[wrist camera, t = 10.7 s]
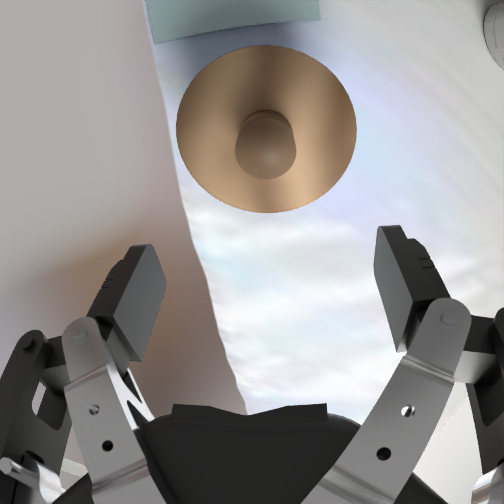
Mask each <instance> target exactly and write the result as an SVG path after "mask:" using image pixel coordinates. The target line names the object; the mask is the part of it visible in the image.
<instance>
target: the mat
mask: <svg viewBox="0 0 504 504" xmlns="http://www.w3.org/2000/svg"><path fill="white" fill-rule="evenodd" d="M146 3H147V9H148V14H149V19H150V25H151V30H152V35H153V40H154V44H160V43H163V42H167V41H171V40H175V39H180V38H184V37H188V36H193V35H198V34H202V33H208V32H213V31H218V30H224V29H230V28H237V27H244V26H252V25H260V24H269V23H280V22H294V21H316V20H320V13H319V6H318V0H146Z"/></svg>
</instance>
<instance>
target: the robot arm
mask: <svg viewBox="0 0 504 504" xmlns="http://www.w3.org/2000/svg"><path fill="white" fill-rule="evenodd" d="M484 34H485V40H486V43H487V46H488V49H489V51H490V53H491V55H492V56H493V58H494V60H495V61H496V62H497V63H498V65H499V66H500V67H502V68H503V69H504V3H497V4H495V5H493V6H491V8H490V9H489V10H488V12H487V14H486V16H485V21H484ZM374 275H375V280H376V283H377V286H378V289H379V292H380V295H381V299H382V302H383V305H384V309H385V312H386V315H387V319H388V322H389V326H390V329H391V333H392V337H393V340H394V344H395V348H396V352H397V353H398V352H404V351H407V353H406V355H405V357H404V356H403V358H402V359H401V361H400V363H399V364H398V366H397V368H396V370H395V372H394V374H393V375H392V377H391V379H390V381H389V382H388V384H387V386H386V388H385V389H384V391H383V393H382V394H381V396H380V398H379V399H378V401H377V403H376V404H375V406H374V407H373V409H372V411H371V412H370V414H369V415H368V417H367V418H366V420H365V421H364V423H363V424H362V425H360V424H358V423H357V422H355V421H353V420H351V419H348V418H346V417H343V416H339V415H336V414H330V413H327V403H324V404H311V405H294V406H285V407H281V408H277V409H273V410H269V411H265V412H261V413H257V414H253V415H240V414H236V413H232V412H229V411H225V410H221V409H217V408H214V407H211V406H199V405H182V404H173V408H172V413H171V414H168V415H164V416H161V417H158V418H156V419H155V418H154V417H153V416H152V414H151V413H150V411H149V409H148V407H147V405H146V404H145V401H144V399H143V397H142V395H141V393H140V391H139V389H138V387H137V385H136V382H135V380H134V378H133V376H132V373H131V371H130V370H129V368H128V365H129V362H130V361H140V362H141V361H142V360H143V357H144V353H145V350H146V347H147V344H148V341H149V338H150V335H151V332H152V329H153V326H154V323H155V320H156V317H157V314H158V311H159V308H160V305H161V302H162V299H163V297H164V294H165V290H166V279H165V275H164V273H163V270H162V268H161V265H160V262H159V260H158V257H157V255H156V252H155V250H154V247H153V246H152V245H151V244H146V245H134V246H131V247H130V248H129V250H128V252H127V253H126V255H125V257H124V259H123V260H120V261H119V262H118V263H117V264H116V265H115V266H114V267H113V268H112V269H111V270H110V272H109V274H108V276H107V277H106V281H104V283H103V285H102V287H101V289H100V291H99V292H98V294H97V296H96V298H95V300H94V302H93V304H92V306H91V308H90V310H89V312H88V314H87V316H86V317H81V318H79V319H76V320H75V321H73V322H72V323H70V324H69V325H68V326H67V327H66V329H65V330H64V333H63V335H62V336H58V337H55V338H51V339H46V337H45V336H44V334H43V333H42V332H41V331H39V330H31V331H29V332H27V333H26V334H24V335H23V336H22V337H21V338H20V339H19V341H18V342H17V344H16V346H15V349H14V350H13V352H12V354H11V357H10V359H9V361H8V363H7V365H6V367H5V370H4V372H3V374H2V376H1V379H0V504H448V503H447V502H446V501H445V500H443V499H442V498H441V497H440V496H439V495H438V494H437V493H436V492H435V491H433V490H432V489H431V488H430V487H429V486H428V485H427V484H426V483H424V482H423V481H422V480H421V479H420V478H419V477H418V476H416V475H415V474H414V473H413V472H412V471H413V470H414V468H415V466H416V464H417V462H418V461H419V459H420V457H421V455H422V453H423V451H424V450H425V448H426V446H427V444H428V442H429V440H430V438H431V436H432V434H433V432H434V429H435V427H436V425H437V423H438V421H439V419H440V417H441V414H442V412H443V410H444V407H445V405H446V403H447V400H448V398H449V396H450V393H451V391H452V388H453V385H454V382H462V383H465V384H466V388H467V392H468V396H469V400H470V405H471V409H472V414H473V418H474V423H475V428H476V434H477V439H478V445H479V451H480V458H481V465H482V473H483V476H482V477H481V478H480V479H479V480H478V481H477V483H476V484H475V486H474V489H473V492H472V499H471V504H504V307H503V308H501V309H500V310H499V311H498V312H497V314H496V316H495V317H494V318H487V317H480V316H474V315H471V314H470V312H469V310H468V309H467V307H466V306H465V305H464V304H462V303H461V302H459V301H457V300H455V299H452V298H451V297H450V295H449V293H448V291H447V289H446V287H445V285H444V283H443V281H442V279H441V277H440V275H439V273H438V271H437V269H436V268H435V265H434V263H433V261H432V260H431V259H430V256H429V254H428V252H427V250H426V249H425V247H424V246H423V245H422V244H420V243H419V242H418V241H417V240H416V239H414V238H413V239H407V237H406V235H405V233H404V231H403V230H402V228H401V226H400V225H391V226H379V227H378V230H377V237H376V247H375V256H374ZM39 381H40V382H41V383H42V384H43V385H44V386H45V387H46V390H45V393H44V396H43V399H42V402H41V404H40V407H39V410H38V413H37V416H36V415H35V414H34V412H33V410H32V400H33V397H34V395H35V392H36V389H37V386H38V384H39ZM72 424H73V427H74V431H75V434H76V437H77V441H78V444H79V446H80V450H81V453H82V456H83V459H84V462H85V464H86V467H87V470H88V473H87V474H86V475H84V476H83V477H82V478H81V479H80V480H78V481H77V482H76V483H75V484H74V485H73V486H71V487H70V488H69V489H68V490H65V488H64V487H62V486H61V482H60V479H59V474H60V469H61V465H62V461H63V456H64V452H65V448H66V444H67V440H68V437H69V433H70V429H71V426H72Z"/></svg>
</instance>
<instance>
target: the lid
mask: <svg viewBox="0 0 504 504" xmlns="http://www.w3.org/2000/svg"><path fill="white" fill-rule="evenodd" d="M356 130H357V127H356V117H355V113H354V109H353V105H352V103H351V100H350V98H349V96H348V94H347V92H346V90H345V89H344V87H343V85H342V84H341V83H340V81H339V80H338V79H337V77H336V76H335V75H334V74H333V73H332V72H331V71H330V70H329V69H328V68H327V67H325V66H324V65H323V64H321V63H320V62H318V61H317V60H316V59H314V58H312V57H310V56H308V55H306V54H304V53H302V52H299V51H296V50H293V49H290V48H285V47H281V46H271V45H261V46H251V47H246V48H241V49H238V50H235V51H232V52H229V53H227V54H225V55H223V56H221V57H219V58H217V59H216V60H214V61H213V62H211V63H210V64H208V65H207V66H206V67H205V68H204V69H203V70H202V71H200V72H199V73H198V74H197V76H196V77H195V78H194V79H193V81H192V82H191V83H190V85H189V86H188V88H187V90H186V91H185V93H184V95H183V98H182V100H181V103H180V106H179V110H178V114H177V122H176V137H177V143H178V148H179V151H180V154H181V157H182V159H183V161H184V164H185V166H186V168H187V169H188V171H189V172H190V174H191V175H192V177H193V178H194V179H195V180H196V182H197V183H198V184H199V185H200V186H201V187H202V188H203V189H204V190H205V191H207V192H208V193H209V194H211V195H212V196H213V197H215V198H216V199H218V200H220V201H222V202H223V203H225V204H228V205H230V206H232V207H235V208H238V209H242V210H245V211H251V212H258V213H278V212H284V211H289V210H293V209H297V208H300V207H302V206H305V205H307V204H309V203H311V202H313V201H315V200H317V199H318V198H320V197H321V196H322V195H324V194H325V193H326V192H328V191H329V190H330V189H331V188H332V187H333V186H334V185H335V184H336V183H337V182H338V180H339V179H340V178H341V177H342V175H343V174H344V172H345V170H346V169H347V167H348V165H349V163H350V161H351V158H352V155H353V152H354V148H355V143H356Z"/></svg>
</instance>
